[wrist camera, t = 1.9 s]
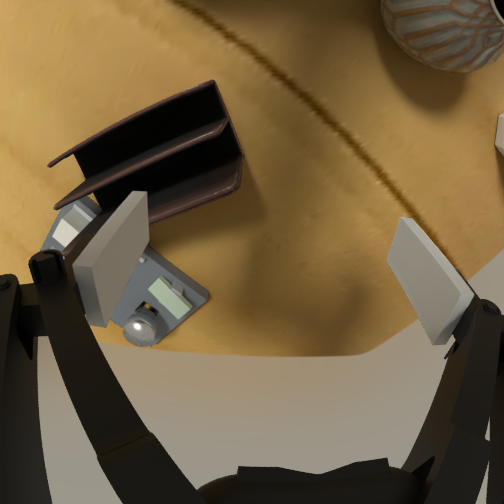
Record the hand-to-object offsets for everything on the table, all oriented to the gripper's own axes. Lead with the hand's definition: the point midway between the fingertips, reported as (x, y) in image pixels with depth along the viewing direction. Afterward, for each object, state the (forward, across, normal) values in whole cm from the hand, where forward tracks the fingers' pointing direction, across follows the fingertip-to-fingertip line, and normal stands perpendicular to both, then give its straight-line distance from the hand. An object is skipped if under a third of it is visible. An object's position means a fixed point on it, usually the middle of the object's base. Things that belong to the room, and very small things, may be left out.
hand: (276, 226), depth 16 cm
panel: (+22, -19, -21) cm, 36 cm away
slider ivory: (+20, -24, -12) cm, 33 cm away
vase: (+23, +16, +18) cm, 34 cm away
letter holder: (+23, -13, -2) cm, 26 cm away
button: (+20, -15, -26) cm, 36 cm away
